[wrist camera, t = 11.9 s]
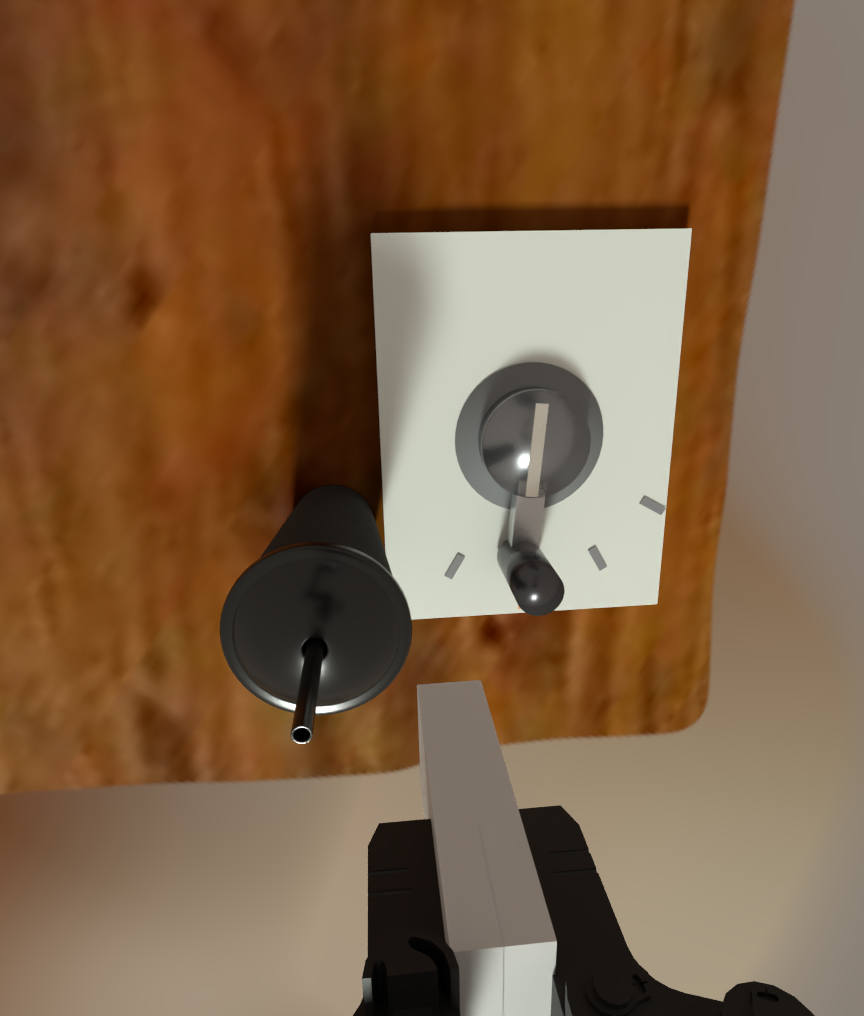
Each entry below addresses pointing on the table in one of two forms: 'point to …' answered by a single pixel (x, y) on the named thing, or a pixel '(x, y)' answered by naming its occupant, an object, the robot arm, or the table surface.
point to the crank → (532, 481)
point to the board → (515, 364)
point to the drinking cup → (318, 613)
